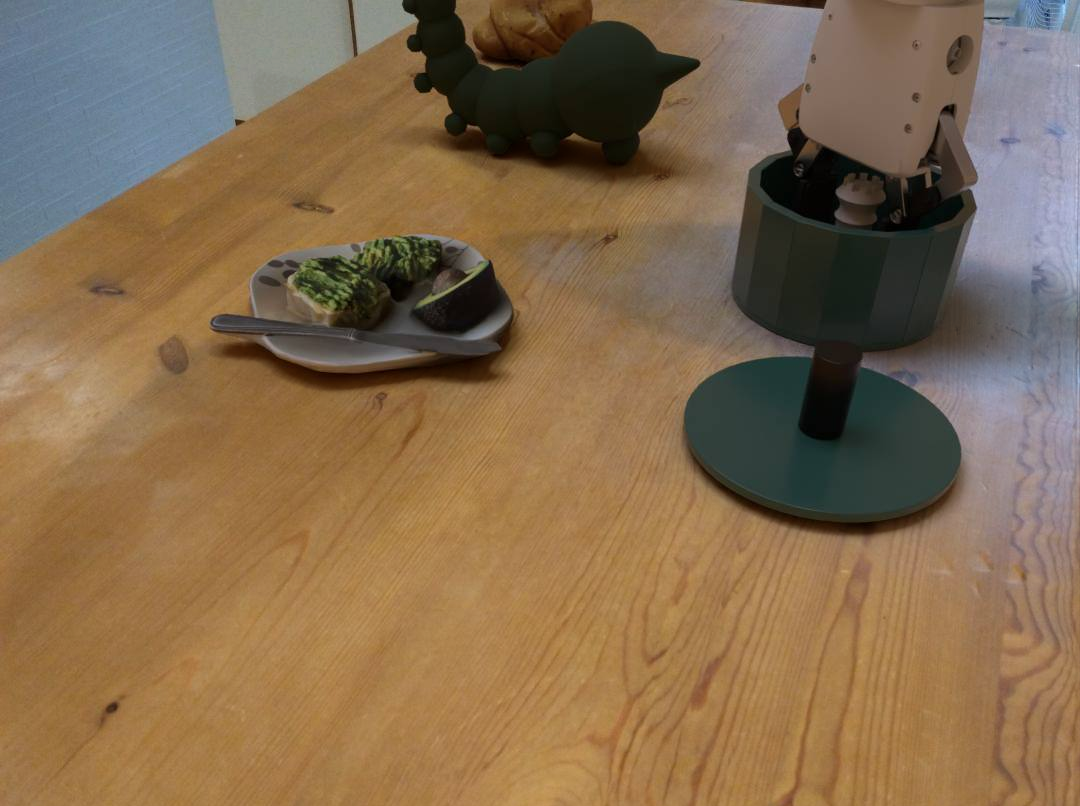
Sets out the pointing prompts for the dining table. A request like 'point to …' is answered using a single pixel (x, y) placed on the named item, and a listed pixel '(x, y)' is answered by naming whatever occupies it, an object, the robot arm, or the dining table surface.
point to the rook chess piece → (859, 201)
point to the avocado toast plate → (375, 305)
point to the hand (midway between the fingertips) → (846, 249)
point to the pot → (844, 264)
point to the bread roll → (530, 27)
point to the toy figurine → (547, 85)
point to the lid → (822, 437)
